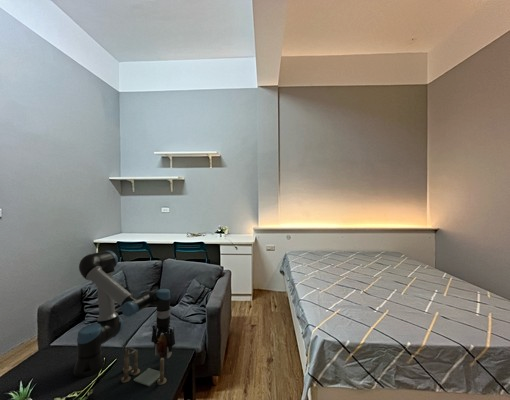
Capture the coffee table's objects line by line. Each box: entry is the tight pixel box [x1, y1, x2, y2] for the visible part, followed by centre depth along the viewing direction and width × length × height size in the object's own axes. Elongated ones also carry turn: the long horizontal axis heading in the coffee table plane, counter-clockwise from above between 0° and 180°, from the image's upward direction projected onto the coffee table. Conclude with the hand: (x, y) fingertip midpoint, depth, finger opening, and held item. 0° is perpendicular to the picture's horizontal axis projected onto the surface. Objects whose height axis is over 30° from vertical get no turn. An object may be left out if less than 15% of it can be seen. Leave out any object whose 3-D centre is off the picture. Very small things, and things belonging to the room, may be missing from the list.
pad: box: [133, 367, 160, 387], centre depth 146 cm, size 11×11×1 cm
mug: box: [157, 333, 168, 358], centre depth 156 cm, size 12×9×10 cm
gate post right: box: [156, 357, 168, 386], centre depth 143 cm, size 5×5×12 cm
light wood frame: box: [120, 346, 141, 383], centre depth 148 cm, size 11×11×13 cm
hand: (163, 355), depth 156 cm, fingers closed on mug, 7 cm apart
